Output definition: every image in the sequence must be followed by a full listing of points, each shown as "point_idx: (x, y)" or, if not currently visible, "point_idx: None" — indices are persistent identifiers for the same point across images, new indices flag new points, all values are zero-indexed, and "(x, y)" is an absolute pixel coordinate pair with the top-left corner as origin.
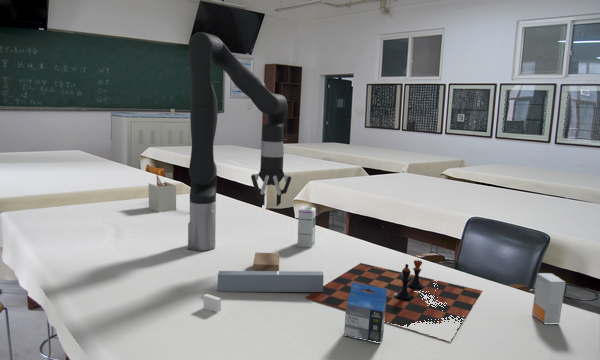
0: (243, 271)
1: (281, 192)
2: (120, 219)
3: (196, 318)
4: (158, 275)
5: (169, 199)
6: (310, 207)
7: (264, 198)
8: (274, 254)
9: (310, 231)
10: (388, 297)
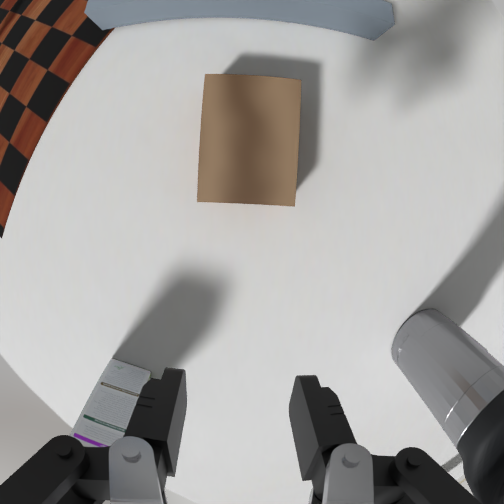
0: (327, 2)
1: (108, 462)
2: None
3: None
4: (491, 141)
5: None
6: None
7: (304, 427)
8: (217, 185)
9: (99, 390)
10: (6, 42)
